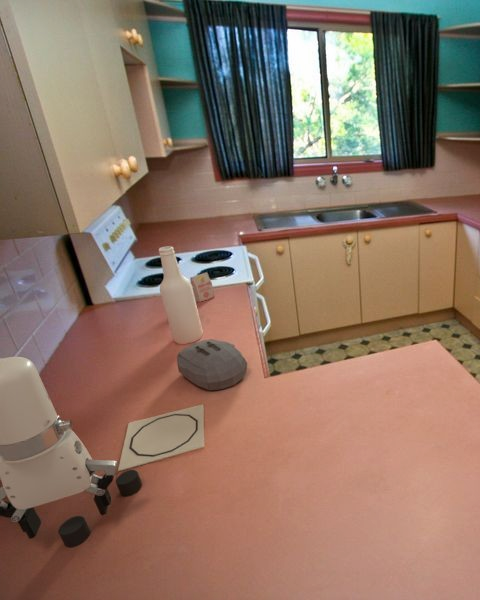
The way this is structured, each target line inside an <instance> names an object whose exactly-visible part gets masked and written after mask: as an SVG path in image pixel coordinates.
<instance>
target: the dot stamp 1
mask: <svg viewBox="0 0 480 600" xmlns="http://www.w3.org/2000/svg"><path fill="white" fill-rule="evenodd" d="M57 531H58V534H59V537H60V539H61V541H62V542H63V545H64V546H65V547H66V548H75V547H77V546H80V545H81V544H82V543H84V542H85V541H86V540H87V539H88V538H89V537H90V534H91V529H90V526H89V525H88V523H87V521H86V518H85V517H84V516H82V515H76V516H72V517H70V518H69V519H66V520H65V521H64V522H63V523H62V524H61V525H60V526H59V528H58V530H57Z"/></svg>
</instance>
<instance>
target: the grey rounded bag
mask: <svg viewBox="0 0 480 600" xmlns="http://www.w3.org/2000/svg"><path fill="white" fill-rule="evenodd" d="M176 363H177V369H178V373H180V374H181V375H182V376H183V377H184V378H185V379H187V380H188V381H190V382H191V383H193V384H194V385H196V386H197V387H200V388H202V389H205V390H207V391H217V390H219V391H220V390H224V389H227V388H230V387H233V386H235V385H237V384H238V383H239V382H241V381H242V380H243V379H244V378H245V376H246V373H247V369H248V362H247V360H246V358H245V357H244V356H243V353H242V352H241V351H240V350H239V349H237V347H235V345H234V344H233V343H231V342H228V341H224V340H217V339H212V338H210V339H204V340H201V341H199V342H194V343H193V344H191V345H189V346H186V347H185V348H183V349H181V350H180V351H179V352H178V353H177V356H176Z"/></svg>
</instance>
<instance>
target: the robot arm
mask: <svg viewBox="0 0 480 600" xmlns="http://www.w3.org/2000/svg"><path fill="white" fill-rule="evenodd" d="M73 428H74V423H73V421H72V419H68V420H62V418H61V416H60V415H58V414H57V411H56V410H55V407H54V405H53V403H52V400H51V398H50V396H49V393H48V391H47V389H46V387H45V385H44V383H43V381H42V378H41V375H40V374H39V372H38V369H37V367H36V365H35V364H34V362H32V361H31V360H30V359H29V358H26V357H22V356H9V357H3V358H1V357H0V481H1V484H2V486H1V487H0V517H4V518H8V519H10V521H11V522H13V523H18V526H19V527H20V529H21V531H22V532H23V533H26V535H27V537H28V539H29V540H31V539H34V538H35V537H36V536H37V534H38V532H39V529H40V527H41V524H42V520H41V519H40V516H39V515H38V513H37V511H36V509H35V507H38V506H42V505H46V504H48V503H52V502H55V501H59V500H62V499H66V498H69V497H72V496H74V495H78V494H80V493H83V492H85V493H89V494H92V495H94V496H93V501H94V503H95V505H96V507H97V509H98V512H99V514H100V515H101V516H104V515H107V514H108V509H109V506H111V505H112V496H111V493H110V491H109V489H108V488H109V486H110V485H111V484H112V483H113V481H114V477H115V474H116V471H117V469H118V465H119V464H118V461H117V460H109V459H108V460H107V459H93V458H92V455H91V454H90V453H89V451H88V449H87V448H86V445H84V443H83V442H82V440H81V439H80V438H79V436H78V435H77V434H76V433H75V432H74V431H73V430H72V429H73ZM96 472H104V473H105V474H104V475H103V476H101V475H97V474H95V473H96ZM6 497H7V499H8V501H5V500H4V499H5V498H6Z"/></svg>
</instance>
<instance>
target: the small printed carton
mask: <svg viewBox="0 0 480 600" xmlns="http://www.w3.org/2000/svg"><path fill="white" fill-rule="evenodd" d="M189 278H190V280H189V281H190V283H191V285H192V289H193V293H194V297H195V301H196V303H199V302H200V303H203V302H206V301H209V300H211V299H213V297H214V298H216V297H215V291H214V286H213V283H212V280H211V278H210V276H209V273H208V272H203V273H201V274H197V275H194V276H190V277H189ZM205 300H206V301H205ZM202 301H203V302H202ZM200 303H199V304H200Z"/></svg>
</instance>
